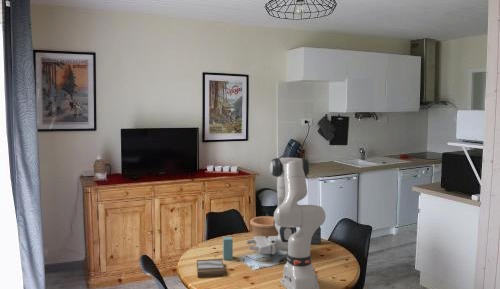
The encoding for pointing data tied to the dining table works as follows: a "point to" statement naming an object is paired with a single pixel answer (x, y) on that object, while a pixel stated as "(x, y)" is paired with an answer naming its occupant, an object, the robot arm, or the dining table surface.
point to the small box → (316, 237)
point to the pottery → (263, 226)
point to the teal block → (227, 248)
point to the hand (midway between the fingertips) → (248, 244)
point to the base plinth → (210, 268)
